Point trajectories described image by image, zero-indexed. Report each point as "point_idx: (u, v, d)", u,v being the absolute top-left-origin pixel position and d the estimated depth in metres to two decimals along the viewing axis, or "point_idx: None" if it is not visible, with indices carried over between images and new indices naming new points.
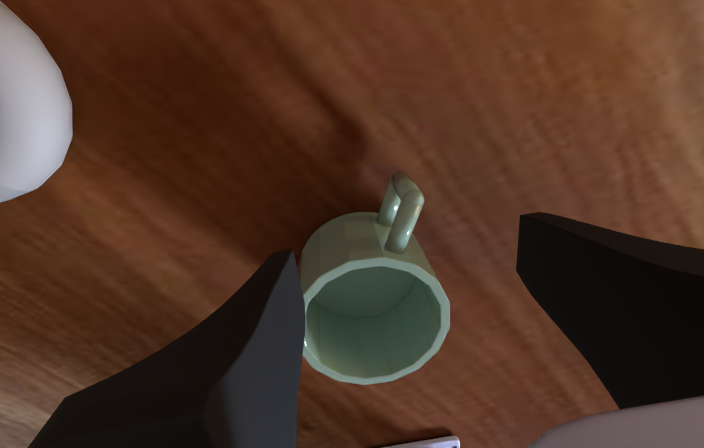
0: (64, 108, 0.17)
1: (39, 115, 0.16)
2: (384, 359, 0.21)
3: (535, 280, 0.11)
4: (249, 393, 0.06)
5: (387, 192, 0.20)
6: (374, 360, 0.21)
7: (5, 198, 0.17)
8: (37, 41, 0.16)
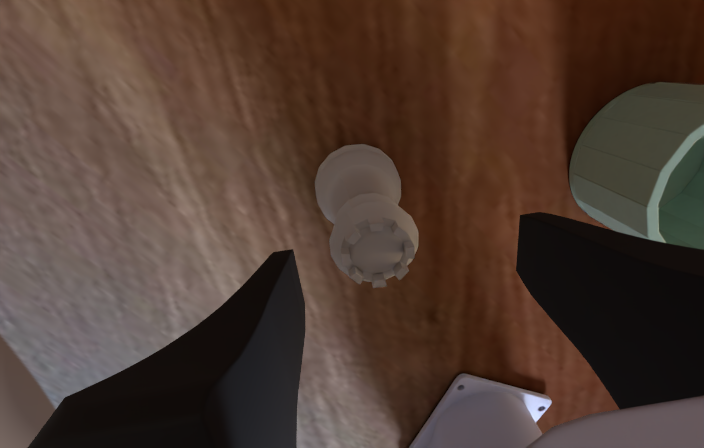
0: None
1: None
2: None
3: (535, 280, 0.11)
4: (249, 393, 0.06)
5: None
6: None
7: None
8: None
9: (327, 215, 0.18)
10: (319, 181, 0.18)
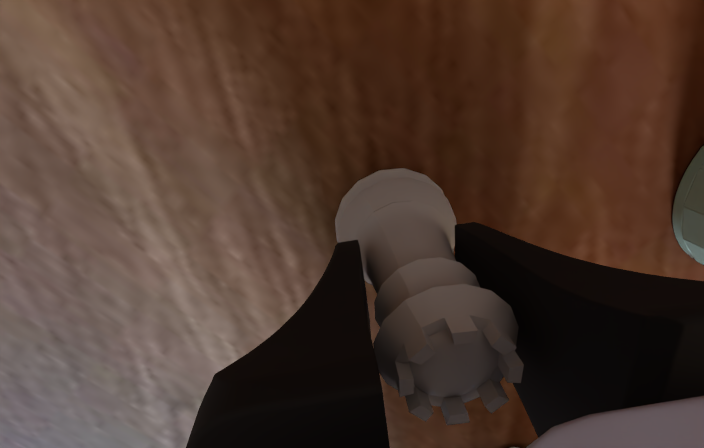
0: None
1: None
2: None
3: None
4: None
5: None
6: None
7: None
8: None
9: None
10: (343, 221, 0.13)
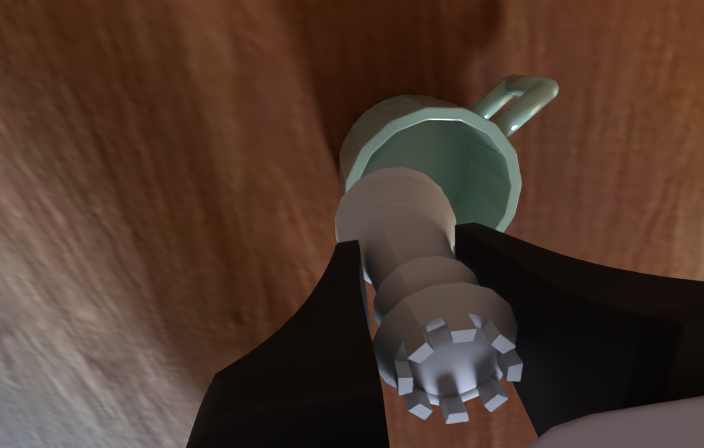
0: None
1: None
2: None
3: None
4: None
5: (495, 90, 0.18)
6: None
7: None
8: None
9: None
10: (343, 220, 0.13)
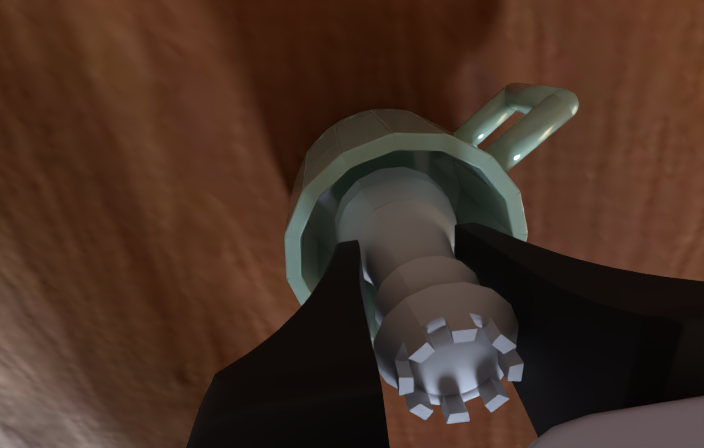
0: None
1: None
2: (372, 318, 0.14)
3: None
4: None
5: (491, 103, 0.14)
6: None
7: None
8: None
9: None
10: (343, 220, 0.13)
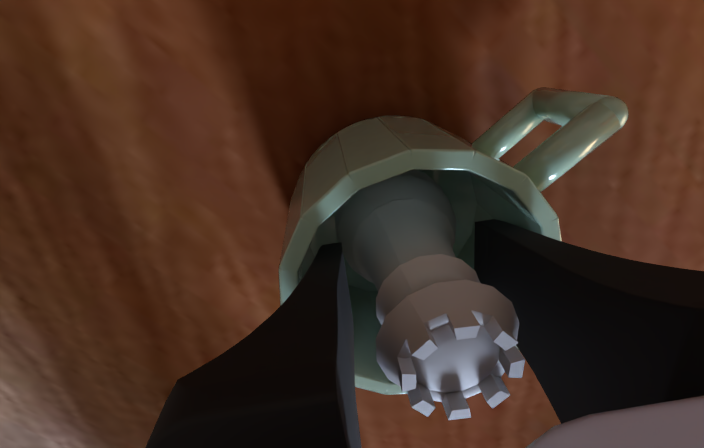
0: None
1: None
2: None
3: None
4: (343, 378, 0.06)
5: (517, 110, 0.12)
6: (365, 350, 0.12)
7: None
8: None
9: (353, 266, 0.13)
10: (343, 219, 0.13)
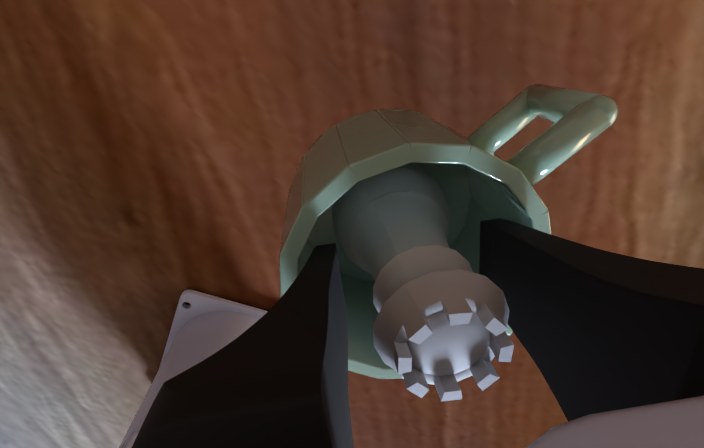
0: None
1: None
2: None
3: None
4: (332, 380, 0.06)
5: (511, 106, 0.13)
6: (360, 337, 0.13)
7: None
8: None
9: (350, 255, 0.14)
10: (341, 210, 0.13)
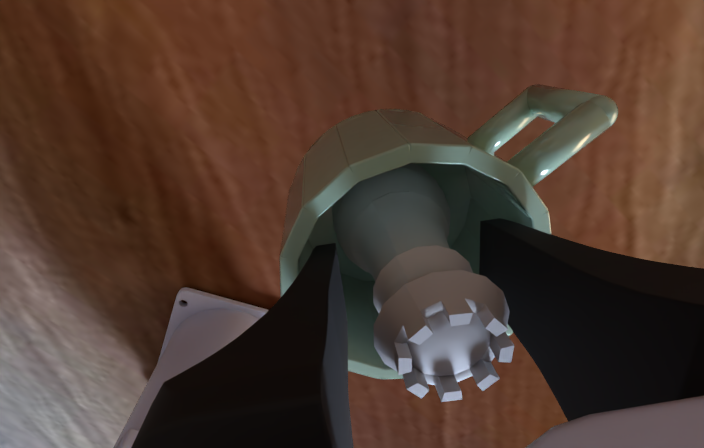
0: None
1: None
2: None
3: None
4: (332, 380, 0.06)
5: (512, 107, 0.13)
6: (361, 337, 0.13)
7: None
8: None
9: (350, 256, 0.14)
10: (341, 210, 0.13)
